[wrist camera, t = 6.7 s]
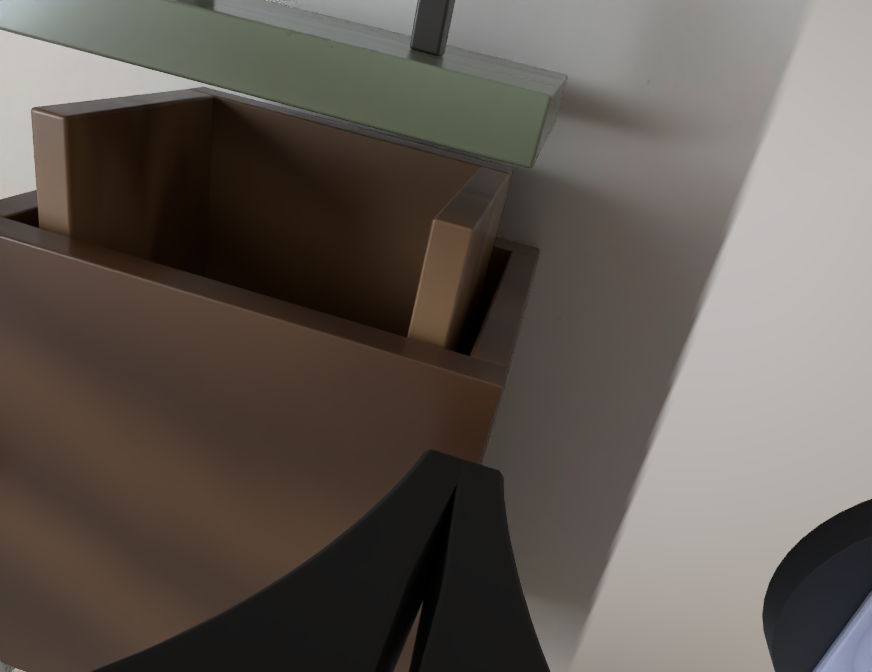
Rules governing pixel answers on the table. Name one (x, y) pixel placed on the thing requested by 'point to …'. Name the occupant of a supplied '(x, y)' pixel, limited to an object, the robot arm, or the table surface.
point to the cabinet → (200, 436)
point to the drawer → (292, 153)
